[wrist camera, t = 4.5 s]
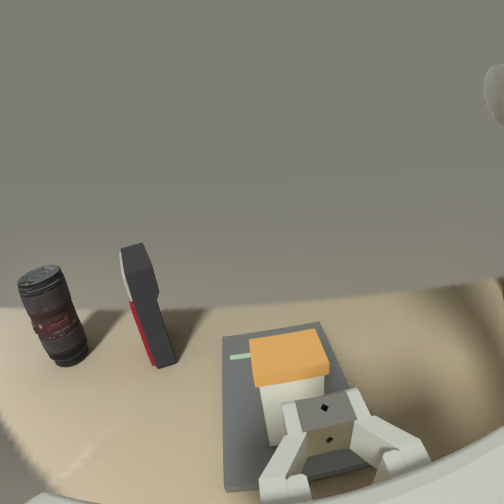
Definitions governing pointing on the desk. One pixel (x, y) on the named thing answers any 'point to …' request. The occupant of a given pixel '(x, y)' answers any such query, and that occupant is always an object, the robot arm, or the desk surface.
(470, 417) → the desk surface
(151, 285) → the calculator
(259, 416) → the fader console
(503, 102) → the robot arm
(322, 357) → the fader knob
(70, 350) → the camera lens
